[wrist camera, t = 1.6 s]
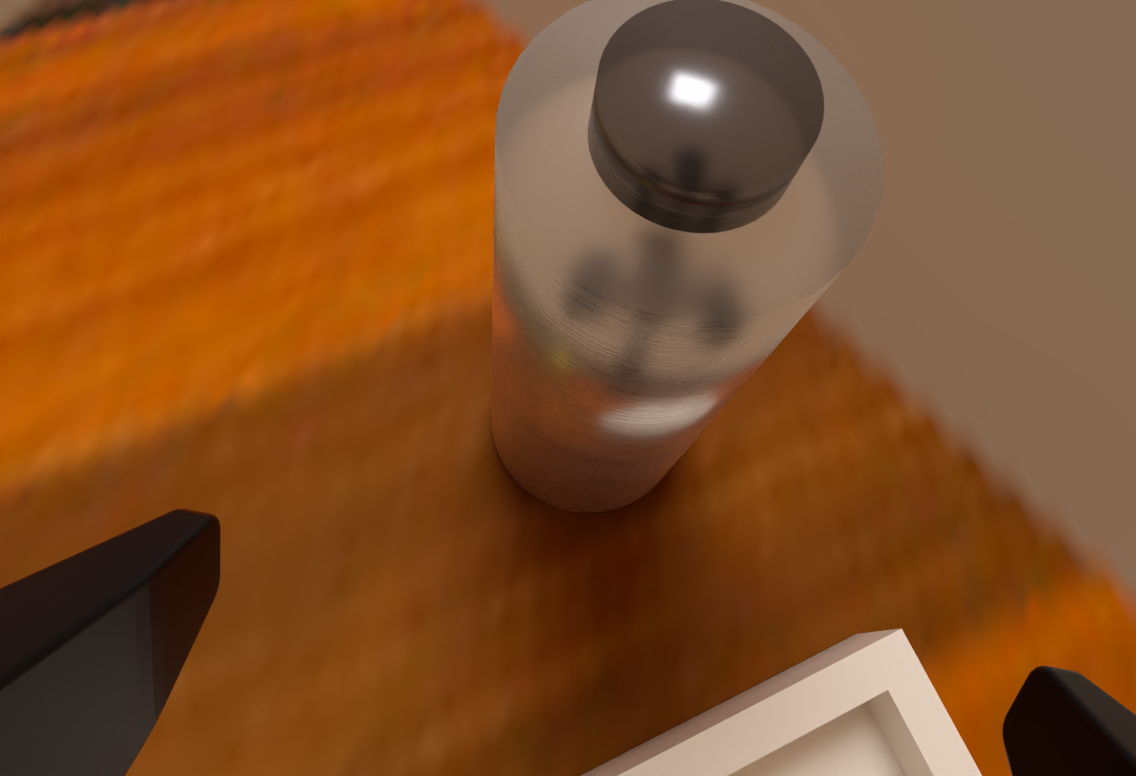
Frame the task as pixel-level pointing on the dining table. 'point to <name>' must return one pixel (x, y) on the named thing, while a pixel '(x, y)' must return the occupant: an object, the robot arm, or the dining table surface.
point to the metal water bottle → (660, 230)
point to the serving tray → (817, 723)
